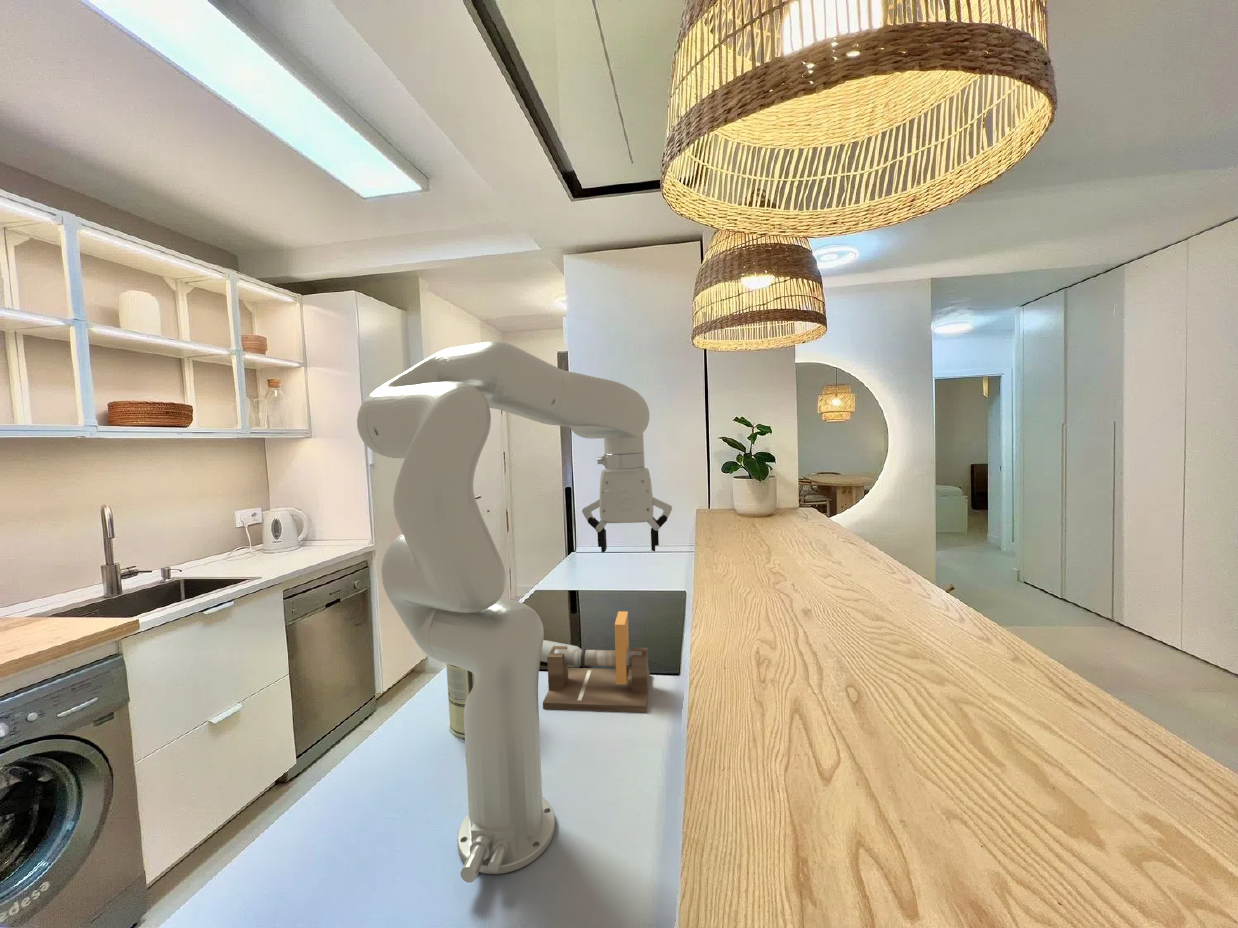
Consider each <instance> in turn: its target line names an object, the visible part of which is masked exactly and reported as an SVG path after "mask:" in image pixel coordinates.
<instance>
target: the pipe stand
mask: <svg viewBox="0 0 1238 928" xmlns="http://www.w3.org/2000/svg"><path fill="white" fill-rule="evenodd" d="M648 653H649V651H648V647H632V650H629V651H627V653H626V661H627V667H629V672H628V678H627V683H626V684H616V668H588V667H587V668H586V666H590V667H594V666H595V667H596V666H597V667H616V658H615V649H614V650H610V649H609V650H606V649H605V650H604V649H602V650H601V649H586V648H584V649H583V648H581V650H570V649H567V646H553V647H552V649H551V651H550V653H549V655H548V656H547V661H548V663H547V679H548V680H547V682H548V687H547V688H548V691H547V693H546V695H545V696H544V699H543V701H542V709H546V710H570V711H571V710H573V711H574V710H575V711H596V712H598V711H599V712H625V713H626V712H627V713H628V712H629V713H630V712H631V713H647V708H648V707H647V706H648V695H649V686H650V685H649V683H650V669H649V654H648ZM568 665H581V666H580V667H581V668H580V667H578V668H569V667H568ZM582 667H583V668H582ZM630 668H631V669H630Z"/></svg>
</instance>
